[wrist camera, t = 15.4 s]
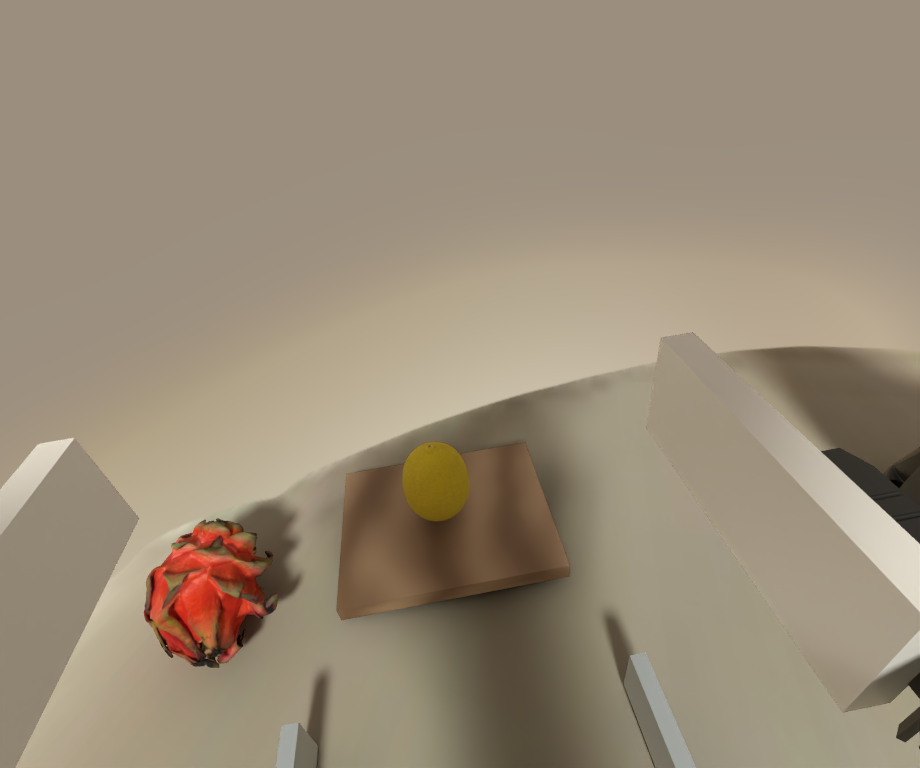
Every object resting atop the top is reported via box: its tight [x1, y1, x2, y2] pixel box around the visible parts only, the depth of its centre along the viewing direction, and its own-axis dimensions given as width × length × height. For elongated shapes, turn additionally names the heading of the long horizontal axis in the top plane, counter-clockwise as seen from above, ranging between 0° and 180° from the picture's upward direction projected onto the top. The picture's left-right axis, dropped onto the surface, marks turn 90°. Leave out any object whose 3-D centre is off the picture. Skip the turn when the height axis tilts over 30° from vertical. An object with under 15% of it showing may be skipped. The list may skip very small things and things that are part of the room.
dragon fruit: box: [144, 519, 279, 668], centre depth 36 cm, size 8×8×12 cm
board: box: [337, 442, 570, 620], centre depth 42 cm, size 18×14×2 cm
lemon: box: [402, 442, 470, 521], centre depth 40 cm, size 6×6×8 cm
